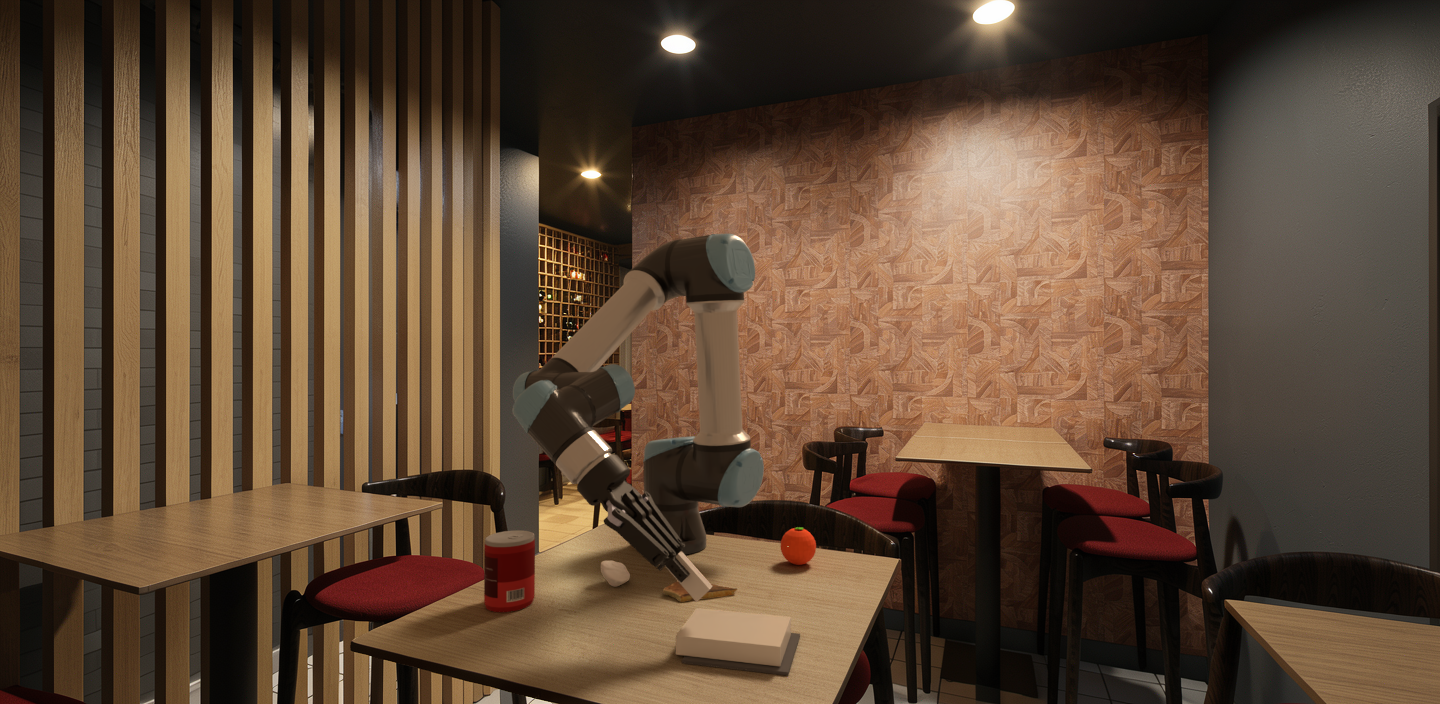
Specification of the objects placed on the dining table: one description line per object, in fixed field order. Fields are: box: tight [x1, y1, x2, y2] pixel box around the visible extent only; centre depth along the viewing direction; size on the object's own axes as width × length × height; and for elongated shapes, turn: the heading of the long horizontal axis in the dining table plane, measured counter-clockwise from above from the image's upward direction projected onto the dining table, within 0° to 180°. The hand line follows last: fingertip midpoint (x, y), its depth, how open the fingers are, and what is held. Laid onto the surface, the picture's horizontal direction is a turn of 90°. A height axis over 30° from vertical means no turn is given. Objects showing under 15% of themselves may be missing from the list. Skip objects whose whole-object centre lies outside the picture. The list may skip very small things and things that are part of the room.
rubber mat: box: [681, 632, 801, 676], centre depth 89 cm, size 12×14×1 cm
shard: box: [662, 580, 738, 603], centre depth 109 cm, size 11×8×2 cm
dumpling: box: [600, 559, 631, 588], centre depth 115 cm, size 7×5×4 cm
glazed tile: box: [675, 607, 792, 666], centre depth 90 cm, size 10×3×14 cm
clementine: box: [779, 526, 817, 566], centre depth 127 cm, size 8×7×7 cm
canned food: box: [483, 530, 536, 613], centre depth 106 cm, size 8×8×11 cm
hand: (704, 594), depth 91 cm, fingers closed
